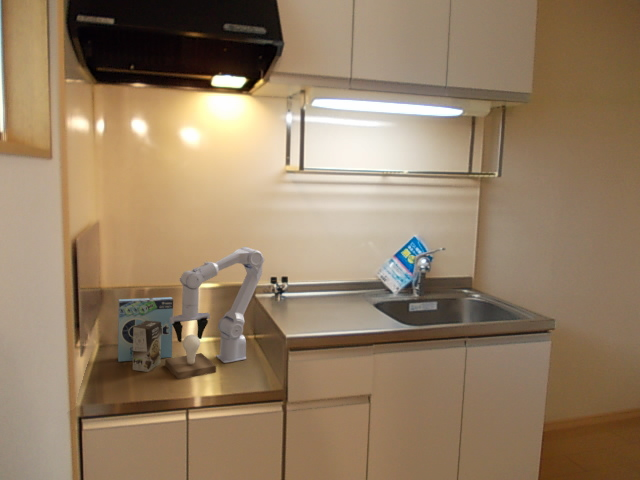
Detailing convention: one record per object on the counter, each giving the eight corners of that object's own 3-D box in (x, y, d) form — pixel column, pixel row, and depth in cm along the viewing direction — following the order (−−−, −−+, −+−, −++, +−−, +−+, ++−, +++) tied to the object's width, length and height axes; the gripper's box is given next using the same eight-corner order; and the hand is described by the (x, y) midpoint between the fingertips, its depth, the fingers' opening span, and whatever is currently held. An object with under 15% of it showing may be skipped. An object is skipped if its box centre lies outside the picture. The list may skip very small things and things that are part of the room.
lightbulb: (190, 369, 179) (191, 339, 178) (178, 364, 182) (179, 335, 181) (203, 363, 184) (204, 334, 183) (191, 359, 187) (192, 331, 186)
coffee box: (148, 372, 180) (148, 328, 178) (132, 370, 181) (132, 326, 179) (161, 363, 189) (162, 321, 187) (145, 361, 190) (146, 319, 188)
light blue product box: (118, 362, 187) (118, 302, 184) (117, 357, 192) (118, 299, 189) (172, 357, 195) (173, 299, 192) (170, 352, 200) (171, 296, 197)
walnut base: (201, 359, 195) (201, 353, 195) (215, 372, 184) (216, 365, 183) (165, 365, 187) (165, 359, 187) (178, 379, 176) (178, 372, 175)
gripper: (174, 308, 177) (173, 346, 178) (213, 304, 185) (212, 340, 187) (167, 303, 182) (167, 340, 184) (205, 299, 191) (205, 334, 192)
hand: (189, 339), depth 186 cm, fingers open, 7 cm apart
